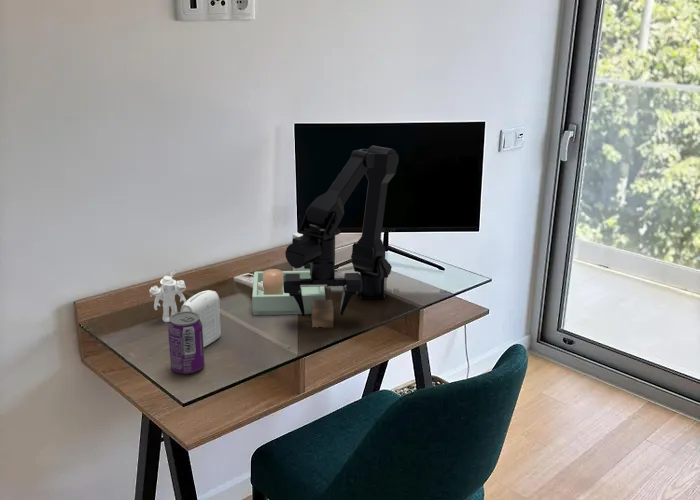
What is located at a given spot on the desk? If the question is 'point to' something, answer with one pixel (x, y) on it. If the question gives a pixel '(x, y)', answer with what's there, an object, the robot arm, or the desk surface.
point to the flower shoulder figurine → (168, 295)
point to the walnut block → (322, 313)
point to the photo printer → (206, 313)
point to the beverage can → (186, 342)
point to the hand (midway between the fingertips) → (322, 314)
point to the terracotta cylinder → (273, 282)
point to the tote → (284, 297)
